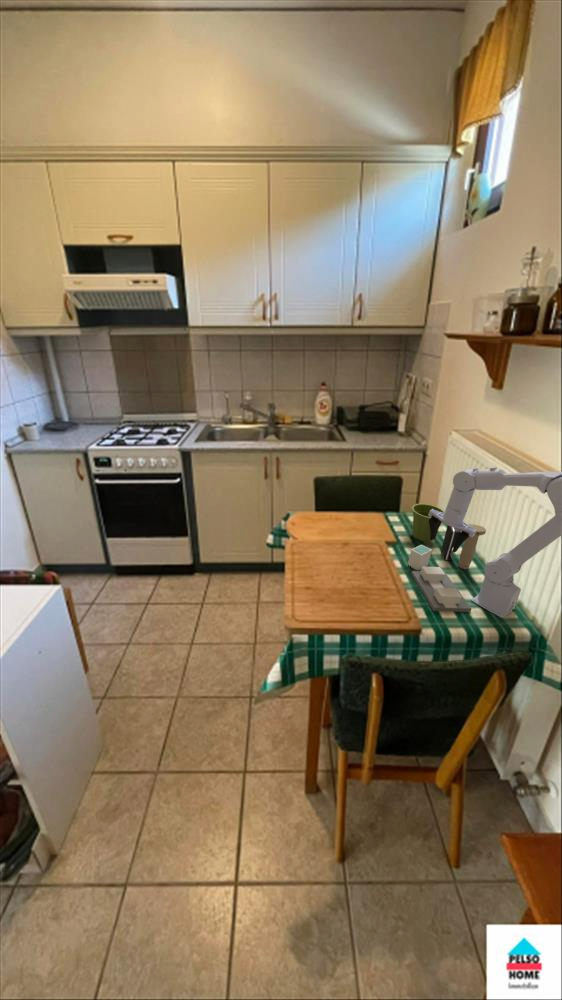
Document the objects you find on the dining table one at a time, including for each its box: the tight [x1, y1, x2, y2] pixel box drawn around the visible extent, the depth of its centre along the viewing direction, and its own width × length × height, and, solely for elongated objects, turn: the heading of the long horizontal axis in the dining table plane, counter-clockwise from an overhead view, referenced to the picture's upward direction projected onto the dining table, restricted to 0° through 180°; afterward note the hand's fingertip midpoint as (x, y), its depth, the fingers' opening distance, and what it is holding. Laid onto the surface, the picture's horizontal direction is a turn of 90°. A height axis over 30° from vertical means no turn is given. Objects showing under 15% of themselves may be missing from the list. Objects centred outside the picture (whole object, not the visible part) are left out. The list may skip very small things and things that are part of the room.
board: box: [411, 566, 472, 613], centre depth 126 cm, size 18×11×4 cm, turn 4°
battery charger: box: [440, 525, 462, 561], centre depth 145 cm, size 7×4×11 cm, turn 169°
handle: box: [458, 523, 487, 570], centre depth 138 cm, size 5×6×15 cm
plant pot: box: [411, 503, 445, 542], centre depth 156 cm, size 12×12×11 cm
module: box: [407, 544, 433, 571], centre depth 139 cm, size 4×6×6 cm, turn 129°
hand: (443, 545), depth 132 cm, fingers open, 7 cm apart
